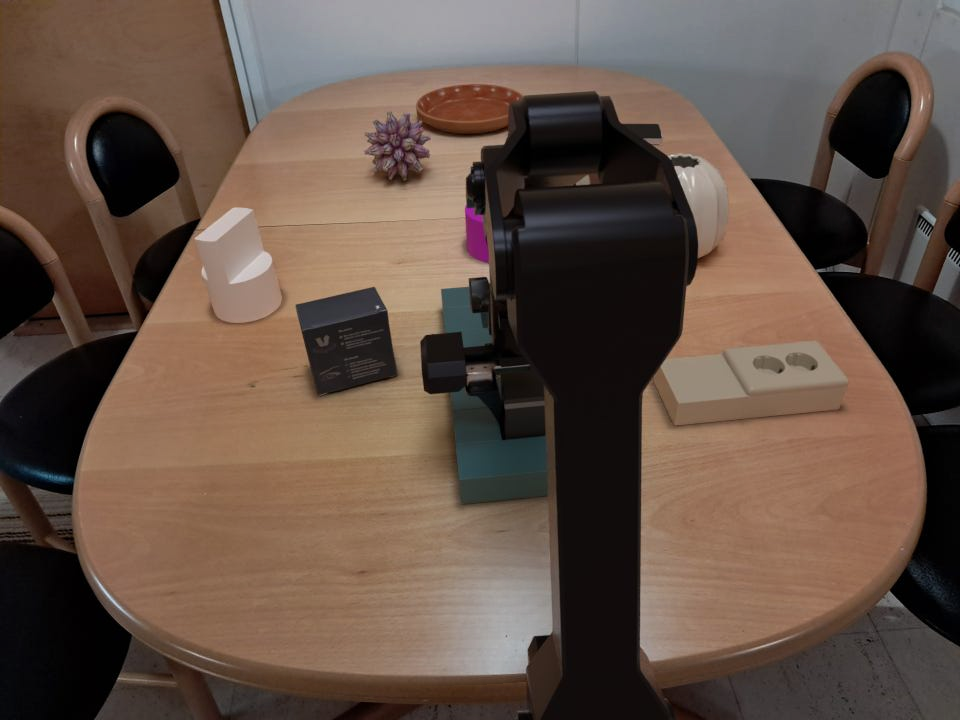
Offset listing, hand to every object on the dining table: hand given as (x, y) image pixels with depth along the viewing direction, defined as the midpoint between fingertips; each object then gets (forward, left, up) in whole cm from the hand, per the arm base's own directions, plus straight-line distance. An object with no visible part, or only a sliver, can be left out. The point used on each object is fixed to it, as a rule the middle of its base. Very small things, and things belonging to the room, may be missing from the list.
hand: (523, 421), depth 69 cm
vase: (+36, -27, -4) cm, 45 cm away
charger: (0, 0, -2) cm, 2 cm away
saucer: (+96, -3, -4) cm, 96 cm away
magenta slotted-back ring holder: (+44, -3, -4) cm, 45 cm away
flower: (+69, +12, -4) cm, 71 cm away
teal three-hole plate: (+9, 0, -3) cm, 10 cm away
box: (+14, +18, -4) cm, 23 cm away
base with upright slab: (+31, +33, -4) cm, 46 cm away
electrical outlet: (+4, -25, -4) cm, 26 cm away
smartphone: (+80, -31, -4) cm, 86 cm away
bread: (+57, -16, -4) cm, 60 cm away
